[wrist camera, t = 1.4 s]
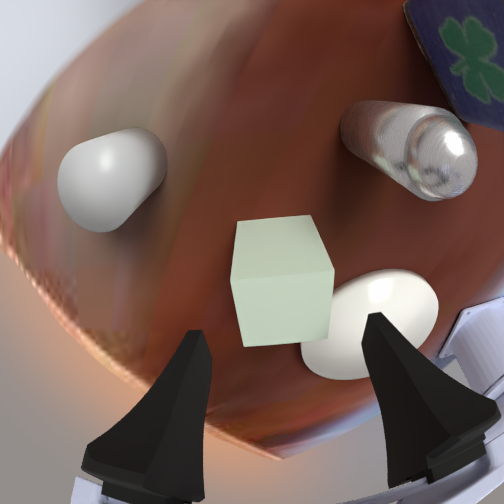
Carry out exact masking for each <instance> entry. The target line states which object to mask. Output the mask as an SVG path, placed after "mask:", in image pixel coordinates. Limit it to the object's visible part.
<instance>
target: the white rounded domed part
mask: <svg viewBox="0 0 504 504" xmlns="http://www.w3.org/2000/svg"><path fill="white" fill-rule="evenodd" d="M166 171H167V155H166V151H165V148H164V146H163V144H162V142H161V141H160V140H159V138H158V137H157V136H156V135H154V134H153V133H152V132H150V131H148V130H146V129H143V128H136V127H134V128H127V129H124V130H120V131H117V132H114V133H110V134H107V135H104V136H101V137H98V138H95V139H92V140H89V141H86V142H84V143H81V144H79V145H77V146H75V147H74V148H72V149H71V150H70V151H69V152H68V153H67V154H66V156H65V157H64V159H63V160H62V163H61V165H60V168H59V172H58V181H57V183H58V193H59V197H60V200H61V202H62V205H63V207H64V209H65V210H66V212H67V213H68V215H69V216H70V217H71V218H72V219H73V220H74V221H75V222H76V223H77V224H78V225H80V226H81V227H83V228H85V229H87V230H90V231H93V232H109V231H112V230H114V229H116V228H118V227H119V226H120V225H122V224H123V223H124V222H125V221H126V219H127V218H128V217H129V216H130V215H131V214H132V213H133V212H134V211H135V210H136V209H137V208H138V207H139V206H140V205H141V204H142V203H143V201H144V200H145V199H146V198H147V197H148V196H149V195H150V194H151V193H152V192H153V191H154V190H155V189H156V188H157V187H158V186H159V185H160V184H161V183H162V181H163V179H164V177H165V174H166Z"/></svg>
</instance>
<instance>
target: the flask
mask: <svg viewBox="0 0 504 504" xmlns="http://www.w3.org/2000/svg"><path fill="white" fill-rule="evenodd" d="M403 6H404V13H405V15H406V19H407V22H408V24H409V26H410V28H411V29H412V32H413V34H414V37H415V39H416V40H417V42H418V46H419V47H420V50H421V52H422V53H423V55H424V56H425V59H426V61H427V63H428V64H429V65H430V67H431V69H432V71H433V74H434V76H435V78H436V80H437V82H438V83H439V86H440V87H441V89H442V93H443V94H444V96H445V97H446V99H447V102H448V104H449V106H450V107H451V109H452V110H453V112H454V113H455V115H456V116H457V117H458V118H460V119H462V120H463V121H465V122H467V123H474V124H478V125H482V126H486V127H489V128H493V129H496V130H500V131H502V132H504V0H408V1H406V2H405V3H404V4H403Z"/></svg>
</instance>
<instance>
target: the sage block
mask: <svg viewBox="0 0 504 504" xmlns="http://www.w3.org/2000/svg"><path fill="white" fill-rule="evenodd" d="M230 282H231V287H232V292H233V297H234V302H235V307H236V312H237V317H238V321H239V326H240V331H241V336H242V340H243V345H244V347H247V346H262V345H275V344H286V343H297V342H306V341H314V340H322V339H328V332H329V324H330V315H331V305H332V295H333V284H334V268H333V266H332V263H331V261H330V259H329V256H328V254H327V251H326V249H325V247H324V244H323V242H322V240H321V238H320V235H319V233H318V231H317V229H316V226H315V224H314V222H313V220H312V217H311V215H303V216H291V217H280V218H269V219H259V220H248V221H238V222H237V230H236V238H235V245H234V253H233V261H232V269H231V278H230Z"/></svg>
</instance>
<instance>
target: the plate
mask: <svg viewBox="0 0 504 504" xmlns="http://www.w3.org/2000/svg"><path fill="white" fill-rule="evenodd" d="M376 312H382V313H383V314H384V315H385V317H386V318H387V319H388V320H389V321H390V322H391V323H392V324H393V325H394V326H395V327H396V328H397V329H398V330H399V331H400V332H401V334H402V335H403V336H404V337H405V338H406V339H407V340H408V341H409V342H410V343H411V344H412V345H413V346H414V347H415V348H416V349H417V348H418V347H419V346H420V345H421V344H422V343H423V342H424V341H425V339H426V338H427V337H428V335H429V334H430V332H431V330H432V328H433V326H434V324H435V322H436V319H437V314H438V300H437V297H436V295H435V293H434V291H433V290H432V288H431V287H430V285H429V284H428V283H427V281H426V280H425V279H424V278H423V277H421V276H420V275H418V274H417V273H415V272H412V271H409V270H405V269H395V268H393V269H382V270H377V271H373V272H369V273H366V274H363V275H360V276H358V277H355V278H353V279H351V280H349V281H347V282H345V283H343V284H342V285H340V286H339V287H337V288H335V289H334V290H333V295H332V305H331V315H330V324H329V332H328V339H322V340H314V341H306V342H300V345H301V352H302V357H303V360H304V362H305V364H306V365H307V367H308V368H309V369H310V370H312V371H313V372H314V373H316V374H318V375H320V376H323V377H326V378H330V379H337V380H350V379H358V378H364V377H368V376H369V373H368V370H367V367H366V364H365V360H364V356H363V351H362V346H361V341H362V337H363V334H364V330H365V326H366V321H367V317H368V314H370V313H376Z"/></svg>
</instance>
